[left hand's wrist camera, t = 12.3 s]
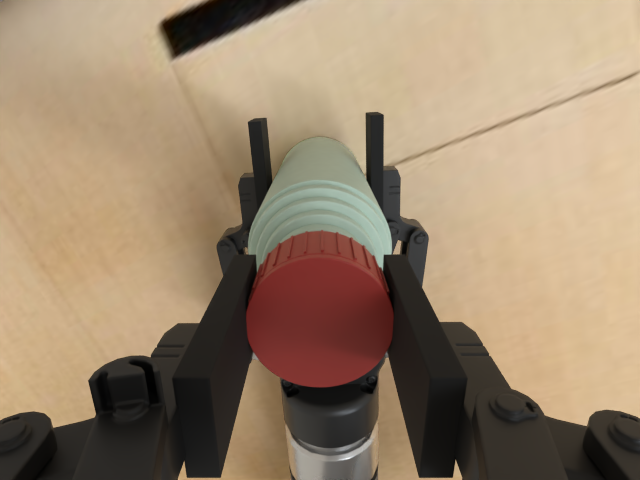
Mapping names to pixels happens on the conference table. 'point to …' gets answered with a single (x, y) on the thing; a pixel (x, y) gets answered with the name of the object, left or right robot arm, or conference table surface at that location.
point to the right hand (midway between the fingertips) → (315, 117)
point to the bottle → (319, 201)
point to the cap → (319, 310)
